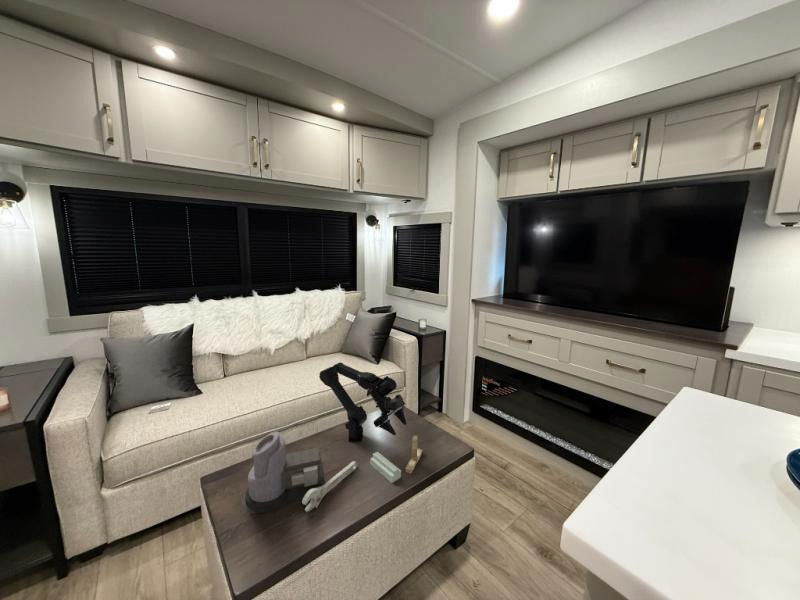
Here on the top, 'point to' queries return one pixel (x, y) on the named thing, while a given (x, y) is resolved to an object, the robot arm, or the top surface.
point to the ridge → (385, 467)
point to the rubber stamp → (414, 454)
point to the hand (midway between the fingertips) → (400, 429)
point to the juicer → (280, 475)
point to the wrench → (326, 487)
